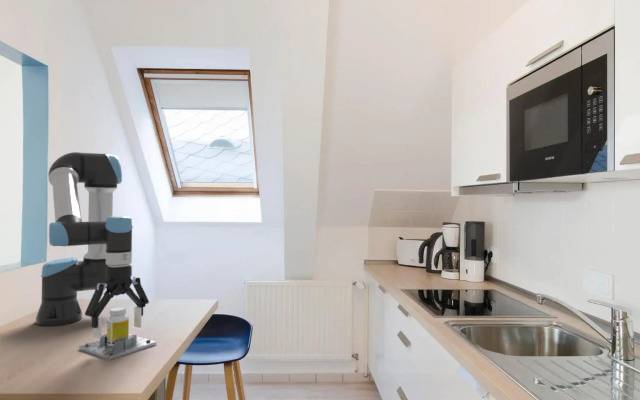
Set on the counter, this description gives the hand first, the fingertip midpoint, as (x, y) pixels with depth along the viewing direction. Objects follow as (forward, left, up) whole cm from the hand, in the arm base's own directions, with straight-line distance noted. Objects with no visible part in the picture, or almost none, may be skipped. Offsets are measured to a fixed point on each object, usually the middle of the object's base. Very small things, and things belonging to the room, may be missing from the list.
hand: (118, 332), depth 137 cm
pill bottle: (0, 0, -4) cm, 4 cm away
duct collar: (0, 0, -5) cm, 5 cm away
